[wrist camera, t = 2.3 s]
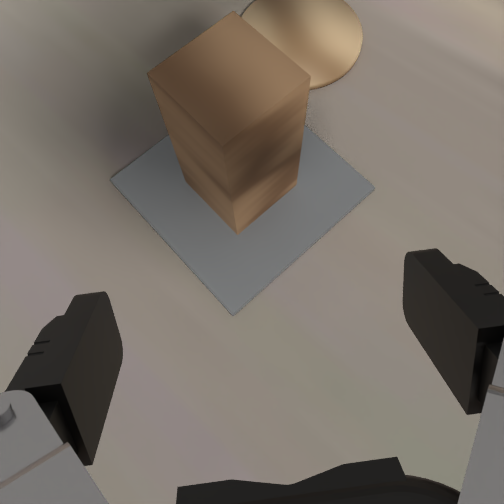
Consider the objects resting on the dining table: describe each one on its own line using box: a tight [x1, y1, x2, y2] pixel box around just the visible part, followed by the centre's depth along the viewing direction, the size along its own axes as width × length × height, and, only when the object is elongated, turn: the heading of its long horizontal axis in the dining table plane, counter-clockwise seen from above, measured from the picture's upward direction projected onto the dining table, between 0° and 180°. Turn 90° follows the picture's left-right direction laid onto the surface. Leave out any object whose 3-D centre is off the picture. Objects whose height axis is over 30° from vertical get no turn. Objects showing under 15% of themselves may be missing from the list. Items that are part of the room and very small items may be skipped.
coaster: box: [241, 0, 363, 90], centre depth 33 cm, size 9×9×1 cm
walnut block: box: [147, 11, 311, 235], centre depth 24 cm, size 5×5×10 cm
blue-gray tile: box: [110, 125, 375, 316], centre depth 29 cm, size 12×12×1 cm
